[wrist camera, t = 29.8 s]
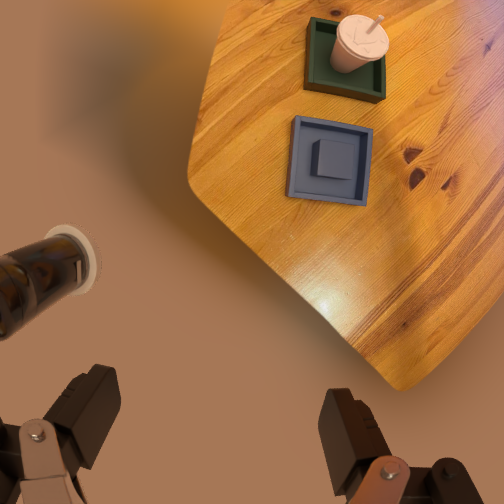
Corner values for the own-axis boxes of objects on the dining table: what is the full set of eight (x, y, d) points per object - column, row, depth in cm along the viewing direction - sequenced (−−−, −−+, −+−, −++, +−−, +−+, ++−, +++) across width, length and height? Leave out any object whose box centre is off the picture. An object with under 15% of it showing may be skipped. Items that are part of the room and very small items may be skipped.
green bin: (303, 89, 36) (307, 81, 33) (306, 27, 34) (311, 16, 30) (376, 104, 36) (385, 98, 33) (375, 42, 34) (384, 34, 31)
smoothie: (370, 66, 35) (415, 28, 21) (345, 90, 36) (386, 54, 22) (338, 37, 34) (370, -11, 20) (311, 60, 35) (337, 12, 21)
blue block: (309, 175, 39) (317, 175, 34) (312, 143, 38) (320, 138, 33) (341, 180, 39) (352, 180, 34) (344, 148, 38) (355, 144, 33)
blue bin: (284, 195, 40) (288, 196, 36) (291, 120, 37) (295, 115, 34) (357, 204, 40) (366, 206, 37) (363, 132, 38) (373, 129, 34)
